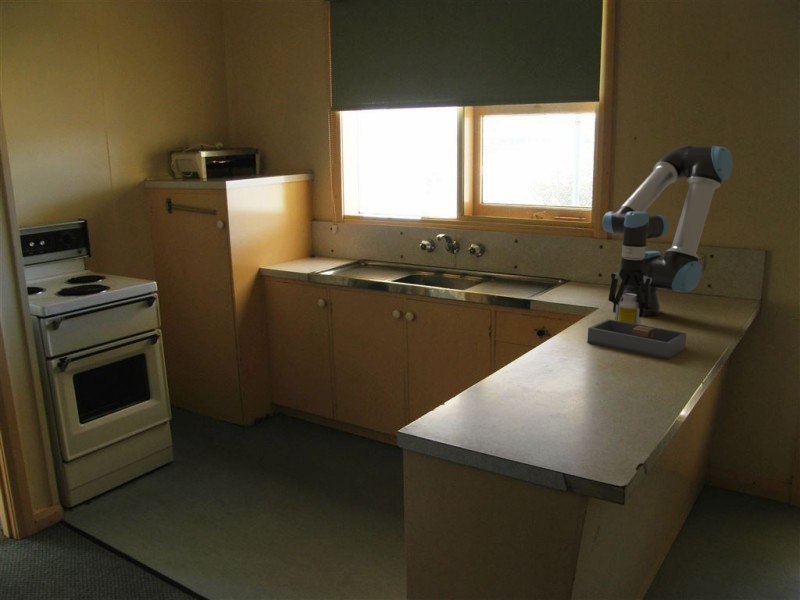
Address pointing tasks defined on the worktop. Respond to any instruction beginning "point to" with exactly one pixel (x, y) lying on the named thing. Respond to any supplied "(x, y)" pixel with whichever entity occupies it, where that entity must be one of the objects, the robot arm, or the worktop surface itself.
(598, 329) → the tray
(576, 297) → the worktop surface
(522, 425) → the worktop surface
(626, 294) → the supplement bottle
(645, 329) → the walnut cube
